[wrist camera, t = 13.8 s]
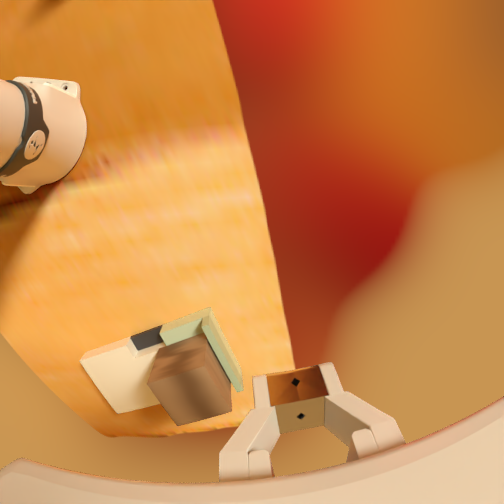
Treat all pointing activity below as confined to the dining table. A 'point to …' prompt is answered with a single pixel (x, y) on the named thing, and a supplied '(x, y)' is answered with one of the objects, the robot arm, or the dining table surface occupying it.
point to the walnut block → (190, 381)
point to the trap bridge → (152, 360)
